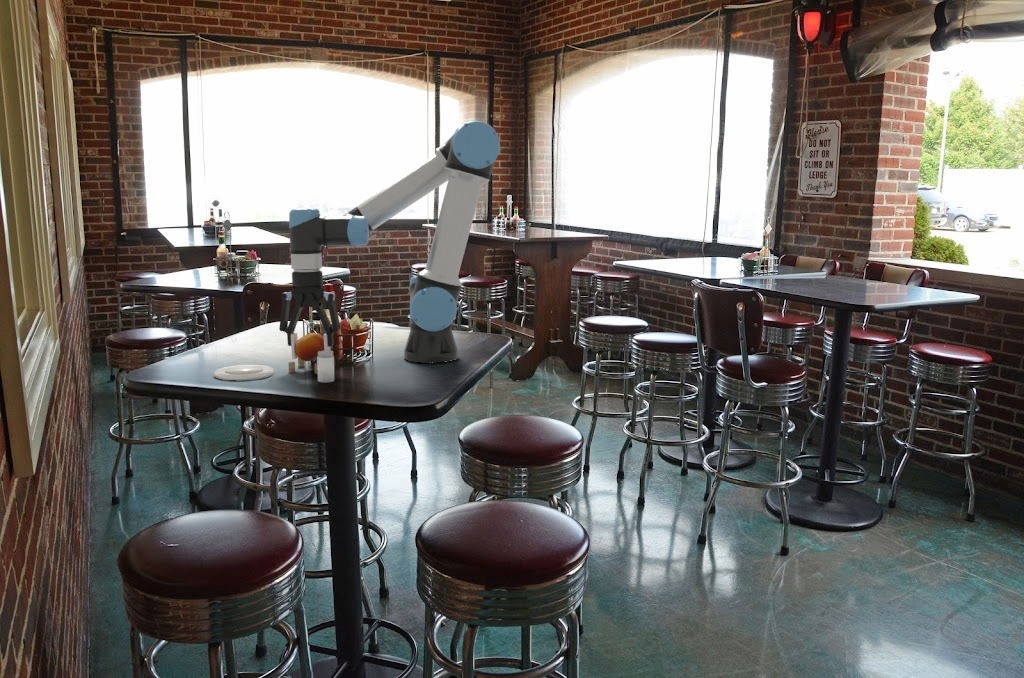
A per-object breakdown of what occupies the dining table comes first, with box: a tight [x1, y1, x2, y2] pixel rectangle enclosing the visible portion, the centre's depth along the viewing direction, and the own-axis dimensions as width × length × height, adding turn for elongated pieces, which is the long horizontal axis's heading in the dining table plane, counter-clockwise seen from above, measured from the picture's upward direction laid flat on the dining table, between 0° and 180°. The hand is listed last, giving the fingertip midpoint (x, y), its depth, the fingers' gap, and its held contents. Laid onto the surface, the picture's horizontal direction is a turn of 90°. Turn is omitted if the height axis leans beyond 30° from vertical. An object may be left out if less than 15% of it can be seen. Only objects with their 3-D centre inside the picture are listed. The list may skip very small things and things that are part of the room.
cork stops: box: [288, 357, 318, 375], centre depth 209 cm, size 8×8×2 cm
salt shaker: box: [316, 350, 335, 383], centre depth 197 cm, size 4×4×7 cm
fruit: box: [295, 332, 324, 362], centre depth 209 cm, size 8×8×8 cm
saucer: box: [214, 364, 274, 382], centre depth 203 cm, size 14×14×1 cm
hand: (311, 358), depth 209 cm, fingers closed on fruit, 8 cm apart
